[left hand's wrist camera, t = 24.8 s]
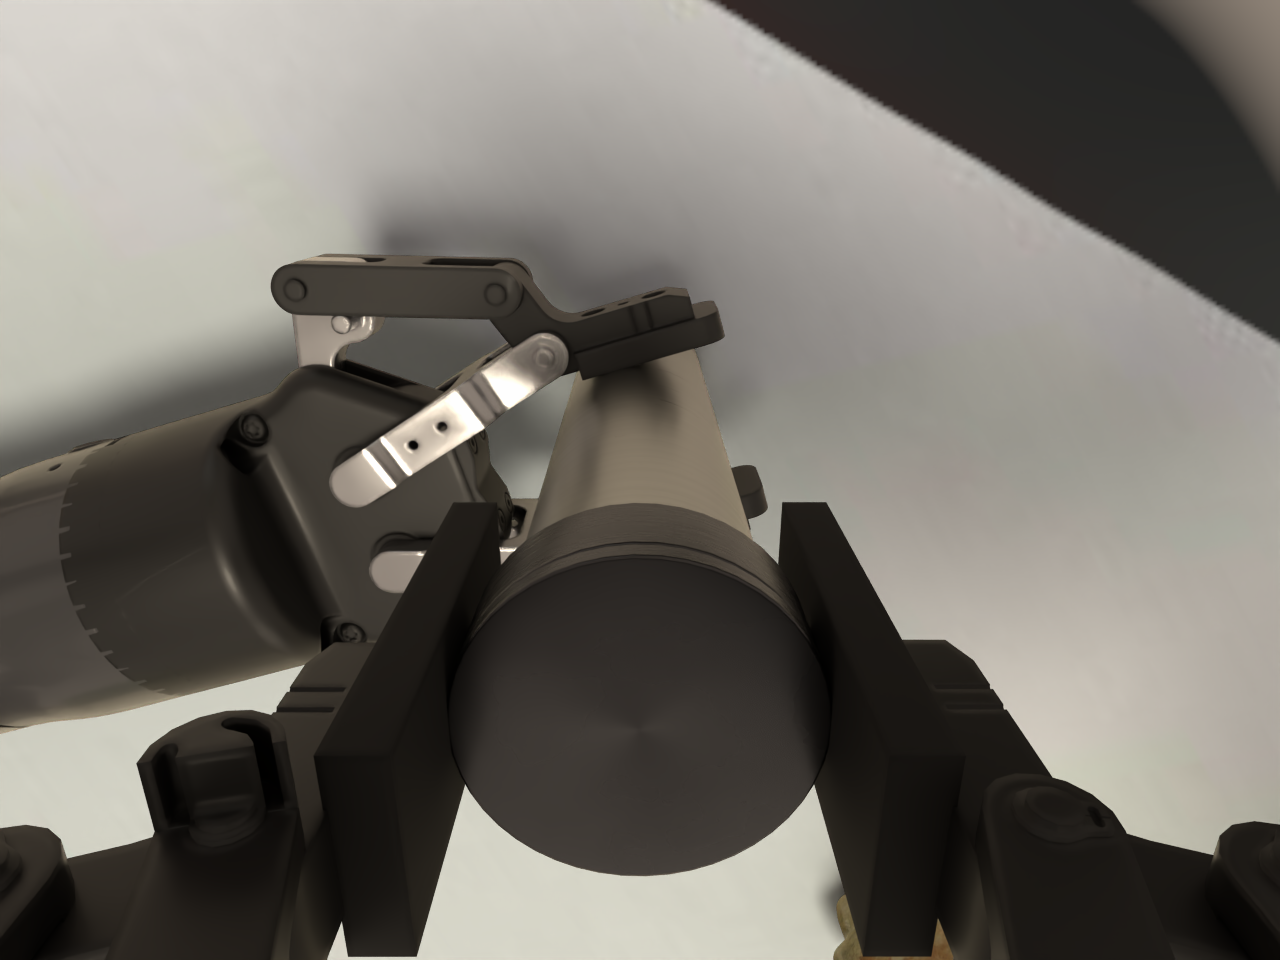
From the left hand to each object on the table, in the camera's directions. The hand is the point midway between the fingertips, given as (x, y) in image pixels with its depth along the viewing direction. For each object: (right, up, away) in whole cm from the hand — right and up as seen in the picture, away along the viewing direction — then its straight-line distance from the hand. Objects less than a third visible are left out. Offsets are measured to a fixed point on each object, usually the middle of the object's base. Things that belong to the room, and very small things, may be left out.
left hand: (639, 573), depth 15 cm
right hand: (+3, +4, +7) cm, 9 cm away
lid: (0, -1, -4) cm, 4 cm away
